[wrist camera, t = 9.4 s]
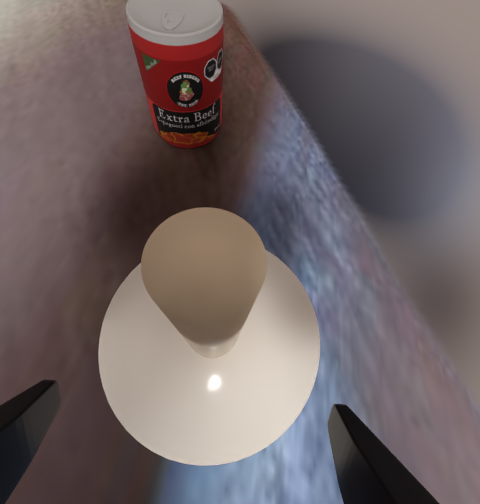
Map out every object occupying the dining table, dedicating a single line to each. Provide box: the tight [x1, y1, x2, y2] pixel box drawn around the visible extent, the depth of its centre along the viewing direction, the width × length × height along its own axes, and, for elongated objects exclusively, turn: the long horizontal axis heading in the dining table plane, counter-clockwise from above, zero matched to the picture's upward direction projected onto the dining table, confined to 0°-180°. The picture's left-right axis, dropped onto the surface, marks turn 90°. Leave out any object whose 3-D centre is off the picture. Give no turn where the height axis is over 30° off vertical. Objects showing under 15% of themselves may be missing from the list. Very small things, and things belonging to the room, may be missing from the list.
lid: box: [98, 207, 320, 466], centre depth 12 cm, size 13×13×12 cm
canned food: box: [126, 0, 223, 148], centre depth 26 cm, size 8×8×11 cm
